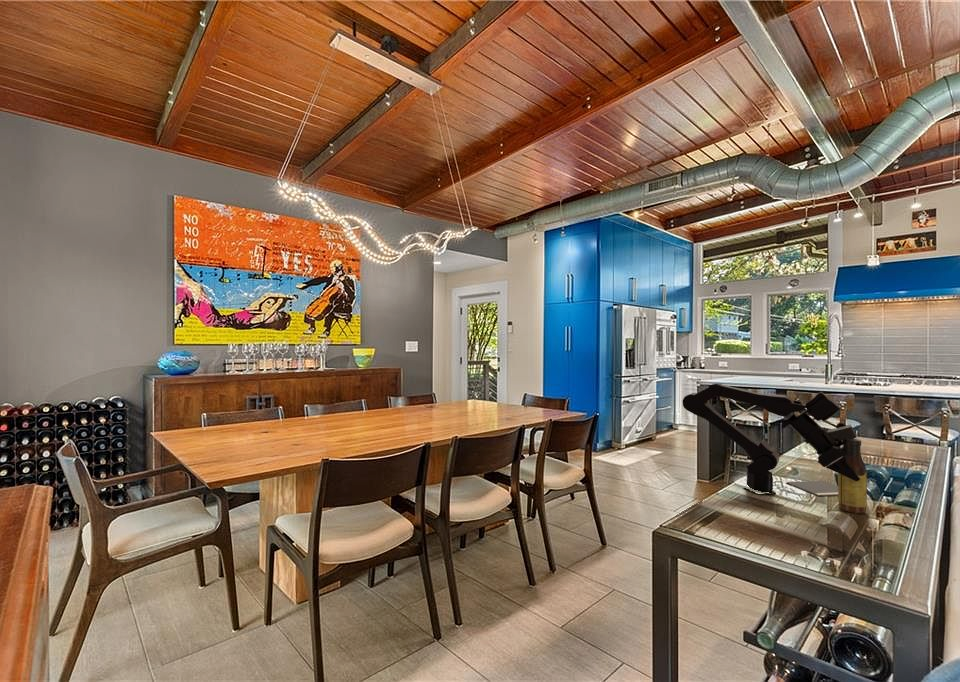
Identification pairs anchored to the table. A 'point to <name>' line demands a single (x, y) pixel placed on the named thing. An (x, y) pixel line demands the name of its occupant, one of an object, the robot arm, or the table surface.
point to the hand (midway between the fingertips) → (858, 476)
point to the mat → (817, 487)
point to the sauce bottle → (851, 491)
